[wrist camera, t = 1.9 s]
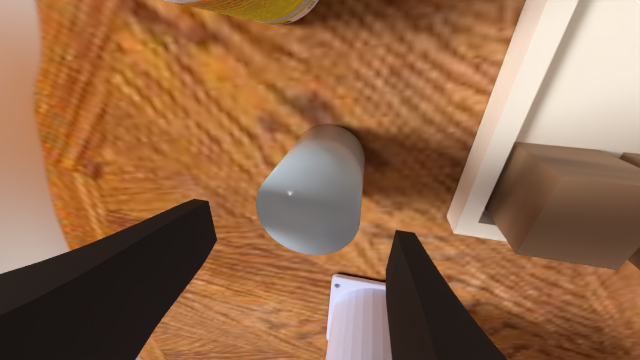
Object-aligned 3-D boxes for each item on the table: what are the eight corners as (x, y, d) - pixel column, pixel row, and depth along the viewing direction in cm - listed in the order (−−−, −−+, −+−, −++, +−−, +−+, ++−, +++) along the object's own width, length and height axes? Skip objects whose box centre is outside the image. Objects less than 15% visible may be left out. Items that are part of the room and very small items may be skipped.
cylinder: (360, 194, 16) (353, 262, 11) (294, 185, 17) (260, 245, 12) (369, 128, 14) (367, 175, 9) (293, 121, 15) (251, 160, 10)
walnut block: (557, 215, 14) (617, 270, 11) (482, 204, 15) (516, 254, 11) (599, 149, 12) (689, 191, 9) (510, 141, 13) (562, 176, 9)
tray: (664, 247, 14) (698, 270, 13) (446, 216, 16) (453, 233, 14) (1002, -95, 7) (1158, -130, 6) (556, -84, 9) (590, -108, 8)
